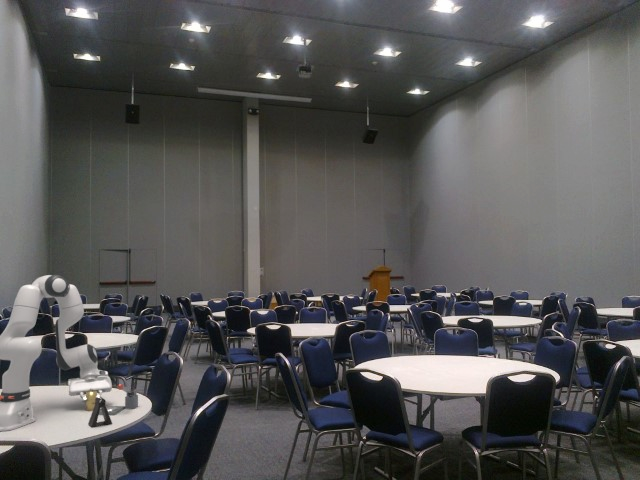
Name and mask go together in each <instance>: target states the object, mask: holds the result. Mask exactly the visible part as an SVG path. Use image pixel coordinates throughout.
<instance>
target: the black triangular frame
mask: <svg viewBox="0 0 640 480" xmlns="http://www.w3.org/2000/svg"><path fill="white" fill-rule="evenodd" d="M106 406H107V405H106V399H104V398H103V397H102V396H100V398H99V397H96V399H95V406H94V409H93V411H91V416H90V417H89V419H88V426H89V427H91V429H92V428H98V427H103V426H109V425H113V422H112V419H111V417H110V416H111V415H109V414H108V411H107V408H106ZM100 409H101V410H102V413H103V415H102V417H103V420H102V421H98V419H99V416H100V415H99V412H100Z"/></svg>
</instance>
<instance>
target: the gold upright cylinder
mask: <svg viewBox="0 0 640 480" xmlns="http://www.w3.org/2000/svg"><path fill="white" fill-rule="evenodd" d="M97 395H98V393H97V391H93V388H90V391H87V392H86V394H85V397H86V402H85V411H86V412H93V409H94V406H95V399H96V397H97Z"/></svg>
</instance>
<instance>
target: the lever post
mask: <svg viewBox="0 0 640 480" xmlns="http://www.w3.org/2000/svg"><path fill="white" fill-rule="evenodd" d="M128 389H129V388H128ZM129 390H131V389H129ZM133 391H134V395H129V394H128V393H126V396H125V397H124V406H125V409H124V410H129V409H132V410H135V409H137V408H138V407H139V395H138V393H137V392H138V391H137V389H134V390H133Z"/></svg>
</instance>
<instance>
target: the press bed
mask: <svg viewBox="0 0 640 480" xmlns="http://www.w3.org/2000/svg"><path fill="white" fill-rule="evenodd" d="M105 406H106V408H107V411H108V414H109V416H116V415H117V414H119V413H120V412H122V411H124V410H126V409H125V405H105ZM98 416H103V413H102V410H101V408H100V412H99V415H98Z"/></svg>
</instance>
